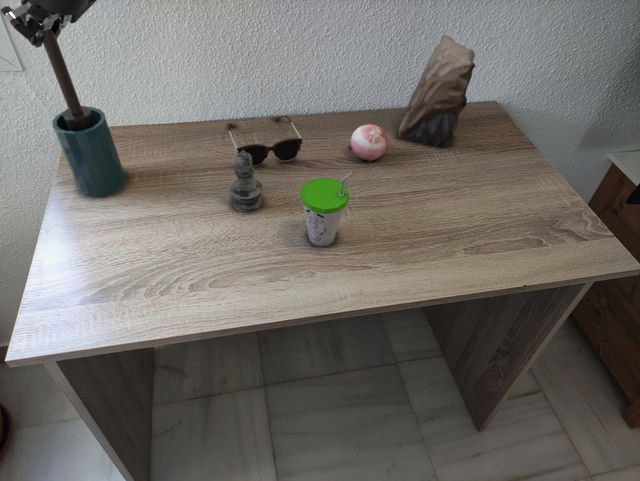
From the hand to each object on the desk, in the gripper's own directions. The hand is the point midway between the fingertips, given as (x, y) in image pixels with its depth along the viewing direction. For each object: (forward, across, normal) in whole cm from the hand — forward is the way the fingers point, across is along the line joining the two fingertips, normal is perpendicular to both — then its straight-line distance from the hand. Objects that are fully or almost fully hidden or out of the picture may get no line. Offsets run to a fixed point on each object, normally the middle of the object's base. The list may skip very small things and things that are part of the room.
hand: (41, 38), depth 71 cm
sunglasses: (+7, -29, +32) cm, 44 cm away
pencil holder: (+18, 0, +21) cm, 27 cm away
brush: (+11, 0, +14) cm, 18 cm away
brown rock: (-12, -55, +51) cm, 76 cm away
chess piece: (0, -12, +39) cm, 41 cm away
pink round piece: (-7, -39, +46) cm, 61 cm away
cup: (-12, -13, +51) cm, 54 cm away
